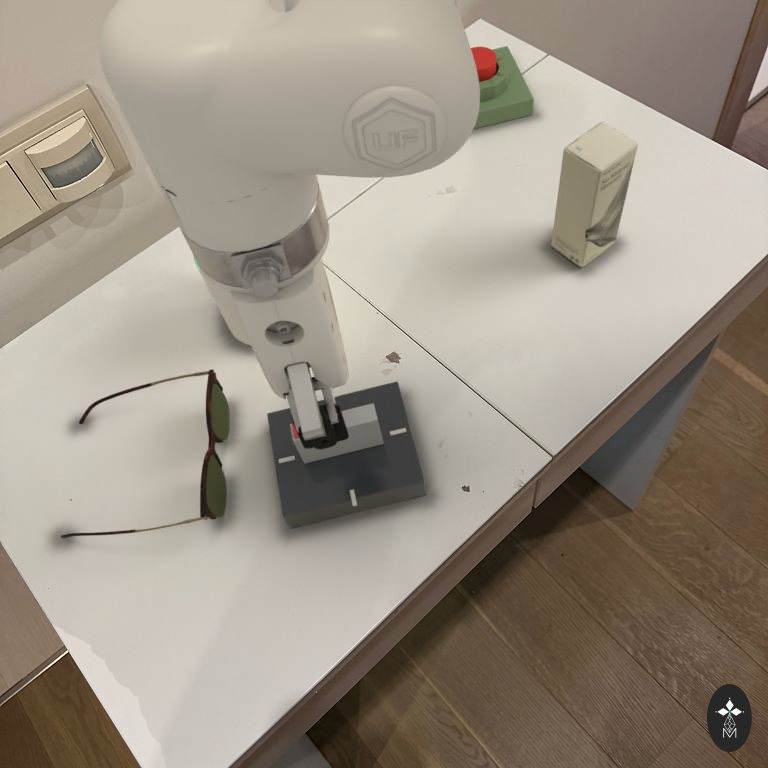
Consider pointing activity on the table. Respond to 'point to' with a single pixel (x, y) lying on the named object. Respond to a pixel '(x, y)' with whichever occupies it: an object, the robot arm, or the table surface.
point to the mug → (226, 309)
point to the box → (592, 192)
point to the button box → (504, 93)
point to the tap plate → (348, 464)
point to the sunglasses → (212, 473)
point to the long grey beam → (360, 432)
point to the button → (484, 62)
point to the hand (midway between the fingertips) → (315, 382)
